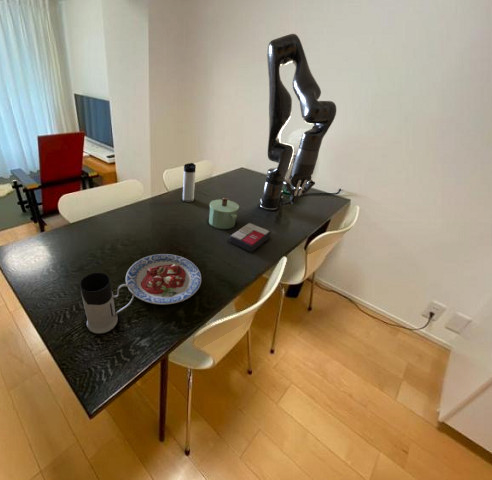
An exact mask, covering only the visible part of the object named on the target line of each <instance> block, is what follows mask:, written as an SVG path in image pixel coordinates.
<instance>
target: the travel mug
mask: <svg viewBox="0 0 492 480" xmlns="http://www.w3.org/2000/svg"><path fill="white" fill-rule="evenodd" d="M196 167H197V166H196V164H195V163H193V162H190V163H189V162H188V163H185V164H184V165H183V178H182V179H183V180H182V201H183V202H185V203H191V202H194V201H195V184H196V169H197V168H196Z"/></svg>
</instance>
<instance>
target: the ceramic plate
mask: <svg viewBox="0 0 492 480" xmlns="http://www.w3.org/2000/svg"><path fill="white" fill-rule="evenodd" d="M125 284H128V285H131V286H132V287H133V288H134V298H137V299H139V300H141V301H143V302H145V303H148V304H153V305H161V306H163V305H165V306H166V305H172V304H173V305H174V304H178V303H182V302H184V301H186V300H188V299H190V298H191V297H192V296H194V295H195V294H196V293H197V292H198V290H199V289H200V287H201V284H202V274H201V271H200V269H199V268H198V267H197V265H196V264H195V263H194V262H192V261H191V260H189V259H188V258H185V257H183V256H180V255H177V254H170V253H159V254H158V253H157V254H152V255H148V256H145V257H142V258H140V259H139V260H137V261H135V262H134V263H133V264H132V265H131V266H130V267H129V268H128V269H127V272H126V275H125ZM127 289H128V291H129V292H130V294H132V295H133V291H132V289H131V288H130V287H127Z"/></svg>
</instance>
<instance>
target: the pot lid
mask: <svg viewBox="0 0 492 480" xmlns="http://www.w3.org/2000/svg"><path fill="white" fill-rule="evenodd" d="M210 208H211V209H212V210H214V211H217V212H221V213H233V212H236V211H237V210H239V209H240V205H239V204H238V203H237V202H235V201H233V200H230V199H228V197H224V196H223V197H222V199H221V198H220V199H214V200H211V201H210V202H209V209H210ZM237 212H238V211H237Z"/></svg>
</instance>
